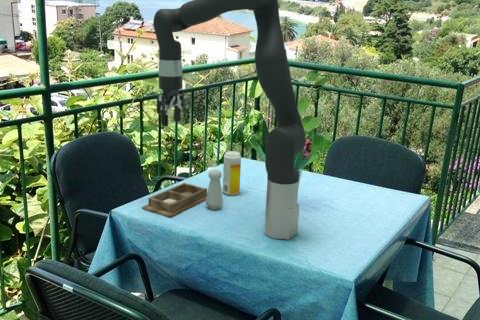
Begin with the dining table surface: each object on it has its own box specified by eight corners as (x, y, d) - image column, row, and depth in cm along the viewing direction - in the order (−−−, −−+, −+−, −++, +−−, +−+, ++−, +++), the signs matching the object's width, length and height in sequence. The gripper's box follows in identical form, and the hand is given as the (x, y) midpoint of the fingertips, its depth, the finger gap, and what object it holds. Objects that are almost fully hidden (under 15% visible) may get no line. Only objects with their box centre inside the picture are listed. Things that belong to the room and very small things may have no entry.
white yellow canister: (242, 192, 187) (244, 153, 183) (233, 197, 182) (235, 156, 178) (228, 188, 190) (230, 150, 186) (219, 193, 185) (220, 153, 181)
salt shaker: (215, 212, 169) (216, 175, 165) (201, 207, 172) (202, 171, 168) (226, 207, 173) (227, 170, 169) (213, 203, 176) (214, 167, 172)
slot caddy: (212, 197, 182) (212, 187, 181) (170, 218, 163) (170, 208, 162) (185, 189, 188) (185, 180, 187) (142, 209, 169) (141, 199, 168)
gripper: (170, 77, 156) (170, 129, 161) (191, 72, 169) (191, 120, 174) (148, 75, 159) (150, 126, 164) (171, 70, 172) (171, 118, 176)
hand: (171, 123), depth 169 cm, fingers open, 8 cm apart
